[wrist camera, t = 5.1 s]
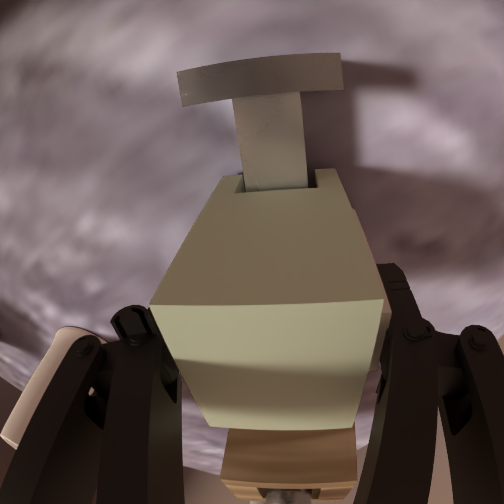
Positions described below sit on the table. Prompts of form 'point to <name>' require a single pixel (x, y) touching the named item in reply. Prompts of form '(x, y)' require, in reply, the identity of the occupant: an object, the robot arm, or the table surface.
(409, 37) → the table surface
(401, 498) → the robot arm
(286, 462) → the wooden boxy piece
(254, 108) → the rail
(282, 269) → the block
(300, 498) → the plunger
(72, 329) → the mug
